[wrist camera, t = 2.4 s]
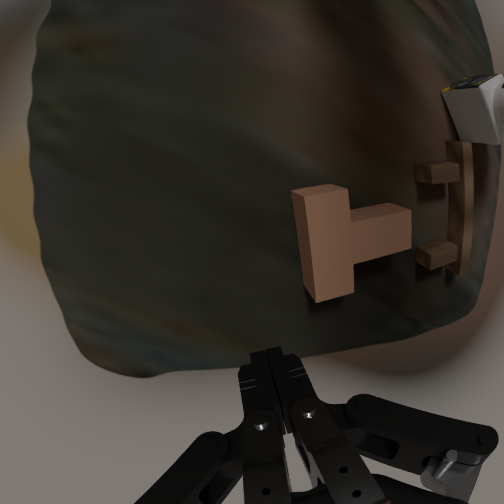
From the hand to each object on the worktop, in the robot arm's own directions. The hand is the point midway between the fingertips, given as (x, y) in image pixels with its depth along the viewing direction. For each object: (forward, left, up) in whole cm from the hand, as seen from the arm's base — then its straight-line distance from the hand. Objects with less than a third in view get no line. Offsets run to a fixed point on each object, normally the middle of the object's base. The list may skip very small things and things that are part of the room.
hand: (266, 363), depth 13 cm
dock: (0, +25, -16) cm, 30 cm away
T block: (0, +12, -16) cm, 19 cm away
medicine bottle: (-13, +32, -16) cm, 38 cm away
